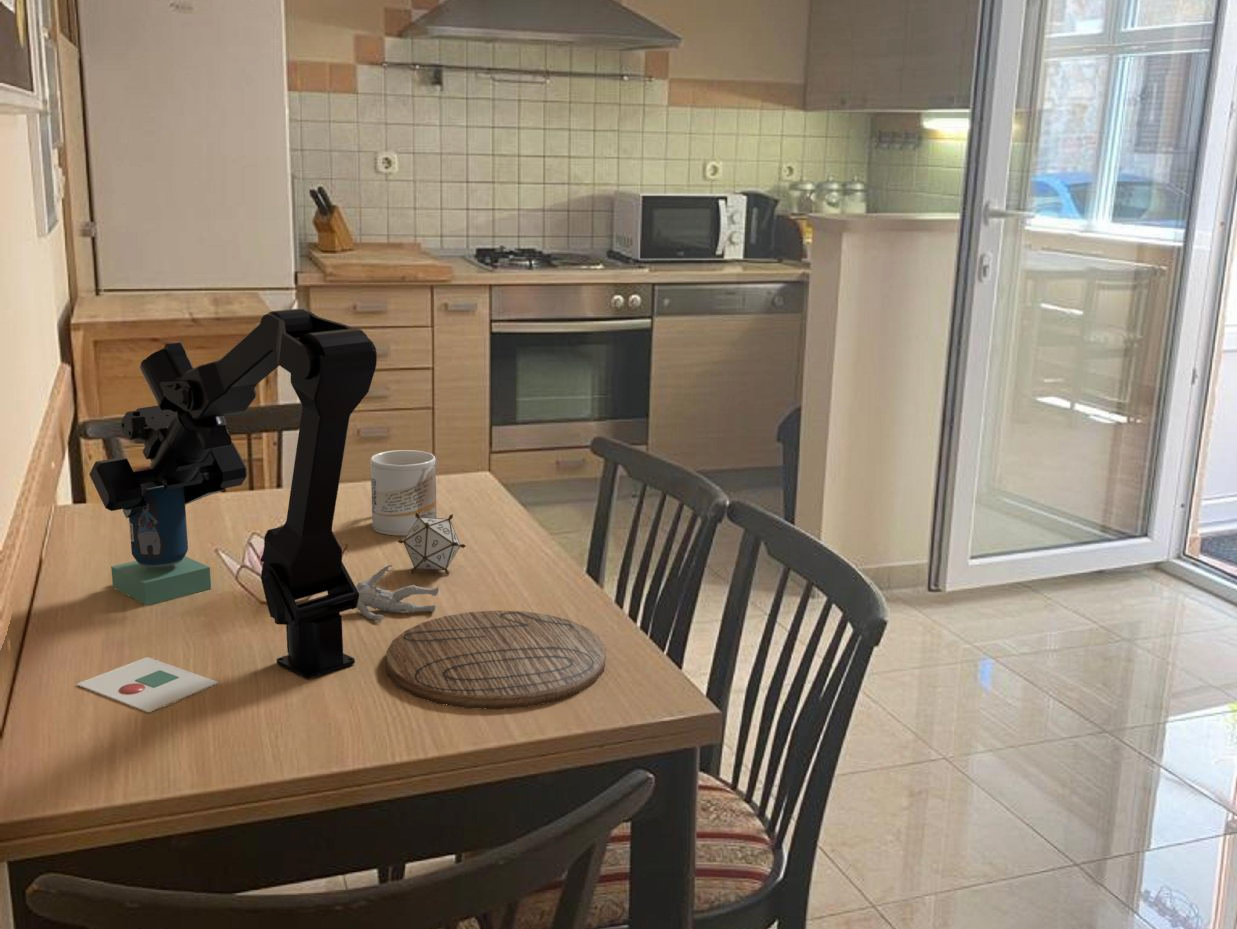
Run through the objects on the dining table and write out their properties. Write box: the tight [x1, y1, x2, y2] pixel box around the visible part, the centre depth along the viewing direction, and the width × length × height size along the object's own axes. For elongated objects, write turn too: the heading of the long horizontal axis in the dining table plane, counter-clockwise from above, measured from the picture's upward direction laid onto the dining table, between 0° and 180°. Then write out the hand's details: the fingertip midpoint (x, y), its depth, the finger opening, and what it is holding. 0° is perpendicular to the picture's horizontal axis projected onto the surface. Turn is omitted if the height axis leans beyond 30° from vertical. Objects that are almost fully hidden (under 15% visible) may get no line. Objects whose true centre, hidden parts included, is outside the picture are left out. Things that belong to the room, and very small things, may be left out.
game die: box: [397, 513, 467, 576], centre depth 173 cm, size 9×8×10 cm
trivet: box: [386, 610, 607, 710], centre depth 144 cm, size 25×25×2 cm
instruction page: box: [76, 656, 220, 713], centre depth 136 cm, size 12×9×1 cm
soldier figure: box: [355, 564, 440, 623], centre depth 158 cm, size 8×5×12 cm
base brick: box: [111, 555, 212, 606], centre depth 165 cm, size 10×9×3 cm
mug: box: [370, 449, 437, 537], centre depth 194 cm, size 10×12×11 cm
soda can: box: [128, 466, 189, 567], centre depth 163 cm, size 7×7×12 cm
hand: (152, 509), depth 163 cm, fingers closed on soda can, 7 cm apart
